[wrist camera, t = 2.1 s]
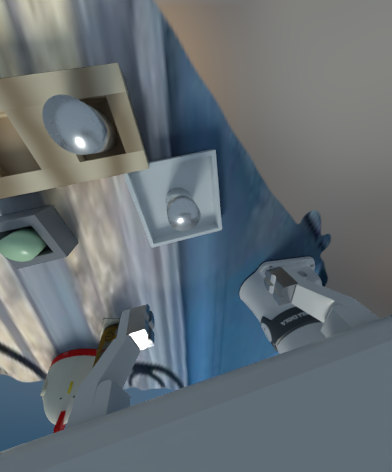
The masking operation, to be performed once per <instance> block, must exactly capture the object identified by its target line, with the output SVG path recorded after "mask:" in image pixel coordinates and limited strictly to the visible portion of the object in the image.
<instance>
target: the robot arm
mask: <svg viewBox="0 0 392 472" xmlns="http://www.w3.org/2000/svg"><path fill="white" fill-rule="evenodd" d="M314 270H315V261H314V259H313V258H312V257H300V258H292V259H284V260H276V261H268V262H264V263H263V264H262V265H261V266H260V267H259V268H258V270H257V271H256V272H255V273H254V274H252V275H251V276H250V277H249V278H248V279H247V280H246V281H245V282H244V283H243V285H242V287H241V289H240V298H241V300H242V301H243V302H244V303H245V304H246V305H247V306H248V307H249V308H250V309H251V311H252V312H253V313H254V314H255V316H256V317H257V319H258V320H259V321H260V323H261V326H262V329H263V331H264V333H265V335H266V336H267V338H268V340H269V341H270V342H271V344H272V346H273V347H274V349H275V350H276V351H277V352H279V355H276V356H273V357H270V358H267V359H264V360H261V361H259V362H256V363H253V364H250V365H247V366H244V367H241V368H239V369H236V370H233V371H230V372H227V373H224V374H221V375H219V376H216V377H213V378H210V379H207V380H204V381H201V382H199V383H196V384H193V385H190V386H187V387H184V388H181V389H179V390H176V391H173V392H170V393H167V394H164V395H162V396H159V397H156V398H153V399H150V400H147V401H144V402H142V403H139V404H136V405H133V406H130V395H129V394H128V393H127V392H125V391H124V390H123V389H122V388H123V386H124V384H125V382H126V380H127V378H128V376H129V374H130V371H131V369H132V367H133V365H134V363H135V361H136V359H137V357H138V355H139V353H140V350H141V349H144V348H147V347H150V346H153V345H154V332H153V328H154V316H153V313H152V311H149V309H150V307H149V305H148V304H147V305H143V306H139V307H135V308H131V309H127V310H124V311H123V312H122V313H121V318H120V323H119V327H118V332H117V337H116V339H114V340H113V341H112V342H111V344H110V345H109V346H108V348H107V349H106V351H105V352H104V353H103V355H102V356H101V358H100V359H99V360H98V362H97V363H96V364H95V366H94V367H93V369H92V370H91V371H90V373H89V374H88V375H87V377H86V378H85V380H84V381H83V382H82V384H81V385H80V387H79V388H78V391H77V394H76V397H75V400H74V403H73V406H72V409H71V412H70V415H69V419H68V422H67V425H66V428H65V429H64V430H61V431H59V432H56V433H53V434H50V435H47V436H44V437H42V438H39V439H36V440H33V441H30V442H27V443H25V444H22V445H19V446H16V447H13V448H10V449H8V450H5V451H2V452H0V472H392V315H390V316H387V317H384V318H382V319H379V318H378V317H377V316H376V315H374V314H373V313H372V312H370V311H369V310H368V309H367V308H365V307H364V306H363V305H361V304H360V303H359V302H358V301H356V300H355V299H354V298H351V297H348V296H346V295H343V294H340V293H338V292H335V291H333V290H330V289H328V288H325V287H323V286H322V282H321V280H320V278H319V276H318V275H317V274H316V273H315V272H314Z"/></svg>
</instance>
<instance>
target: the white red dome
mask: <svg viewBox="0 0 392 472" xmlns="http://www.w3.org/2000/svg"><path fill="white" fill-rule="evenodd" d="M96 354H97V350H96V349H76V350H71V351H68V352H65V353H62V354H60V355H59V356H57V357H56V358H55V359H54V360H53V362H52V364H51V366H50V369H49V372H48V375H47V378H46V379H45V382H44V385H43V388H42V391H41V394H40V396H42V397H43V403H44V410H45V413H46V416H47V417H48V419H49V420H50V421H51V423H53V424H55V427H54V433H56V432H59V431H61V430H64V427H65V424H66V423H67V422H68V419H69V415H70V412H71V409H72V406H73V403H74V400H75V397H76V394H77V391H78V388H79V387H80V385H81V384H82V382H83V381H84V380H85V378H86V377H87V375H88V374H89V373H90V371H91V370H92V368H93V364H94V361H95V357H96Z"/></svg>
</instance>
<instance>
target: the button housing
mask: <svg viewBox="0 0 392 472" xmlns="http://www.w3.org/2000/svg"><path fill="white" fill-rule="evenodd" d="M21 227H33V228H34V229H35V230H36V232H37V233H38V234H39V235H40V237H41V238H42V239H43V240H44V241H45V243H46V244H47V246H46V247H45V248H44V249H43V250H42V251H41V252H40V253H39V254H38V255H36V256H35V257H34V258H33V259H32V260H30V261H25V262H20V261H14V260H11V259H8V258H7V259H8V260H9V261H10V262H11V263H12V264H13V265H14V266H15V267H16V268H17V269H19V268H23V267H27V266H31V265H35V264H39V263H44V262H48V261H52V260H56V259H60V258H64V257H67V256H68V255H69V254H70V253H71V251H72V250H73V249H74V248H75V246H76V245H77V244H78V241H77V240H76V238H75V237H74V236H73V234H72V233H71V231H70V230H69V228H68V227H67V225H66V224H65V222H64V221H63V220H62V218H61V217H60V215H59V214H58V212H57V211H56V209H55V208H54V206H53V205H49V206H44V207H39V208H35V209H30V210H25V211H20V212H16V213H11V214H6V215H2V216H0V240H1V239H3V238H4V237H6V236H8V235H9V234H11V233H13V232H14V231H16V230H18V229H19V228H21ZM4 257H5V256H4ZM5 258H6V257H5Z"/></svg>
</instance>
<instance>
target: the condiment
mask: <svg viewBox="0 0 392 472" xmlns="http://www.w3.org/2000/svg"><path fill="white" fill-rule="evenodd" d="M112 323H114V324H112ZM119 323H120V319H104V322H103V325H102V329H101V333H100V337H99V339H101V340H100V344H99V347H98V350H97V354H96V357H95V361H94V364H93V367H94V366H95V364H96V363H97V362H98V360H99V359H100V358H101V356H102V355H103V353H104V352H105V351H106V349H107V348H108V346H109V345H110V344H111V342H112V341H113V340H114V339H116V337H117V332H118V327H119ZM111 324H112V325H111ZM92 369H93V368H92Z"/></svg>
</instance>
